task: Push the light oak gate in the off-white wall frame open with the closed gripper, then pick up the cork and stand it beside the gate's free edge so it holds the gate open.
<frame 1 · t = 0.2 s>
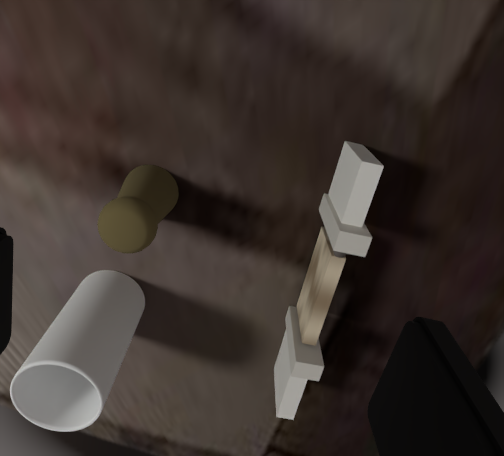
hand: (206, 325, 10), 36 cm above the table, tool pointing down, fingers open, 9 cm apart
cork: (151, 190, 47), on the table
wall frame: (313, 269, 51), on the table
gate: (323, 281, 47), point 4 cm above the table, hinge at 0.0°
cup: (112, 298, 53), on the table
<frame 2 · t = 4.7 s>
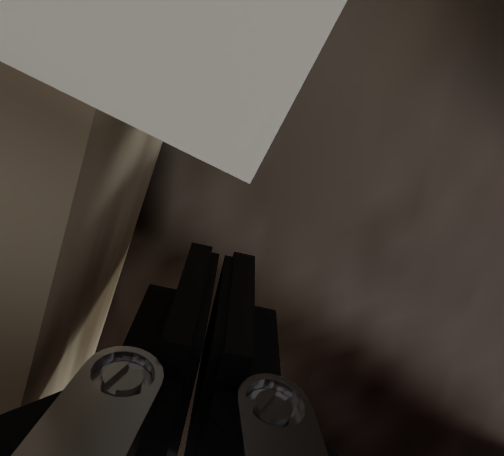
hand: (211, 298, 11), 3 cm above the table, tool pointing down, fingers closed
wall frame: (134, 218, 14), on the table
gate: (41, 298, 10), point 4 cm above the table, hinge at 5.3°, touching gripper
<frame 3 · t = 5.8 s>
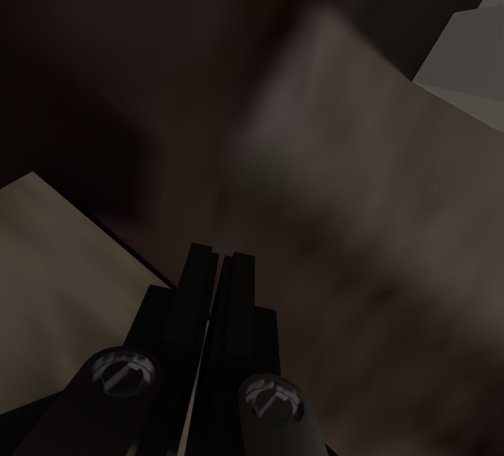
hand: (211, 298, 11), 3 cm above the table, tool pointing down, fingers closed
wall frame: (354, 255, 15), on the table
gate: (128, 387, 12), point 4 cm above the table, hinge at 70.4°, touching gripper
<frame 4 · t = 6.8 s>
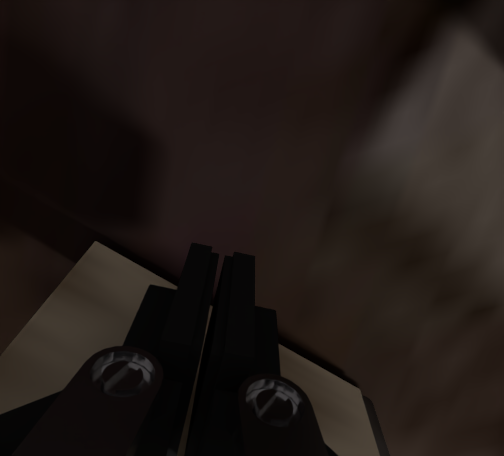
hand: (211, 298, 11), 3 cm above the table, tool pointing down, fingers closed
gate: (226, 431, 12), point 4 cm above the table, hinge at 84.4°, touching gripper
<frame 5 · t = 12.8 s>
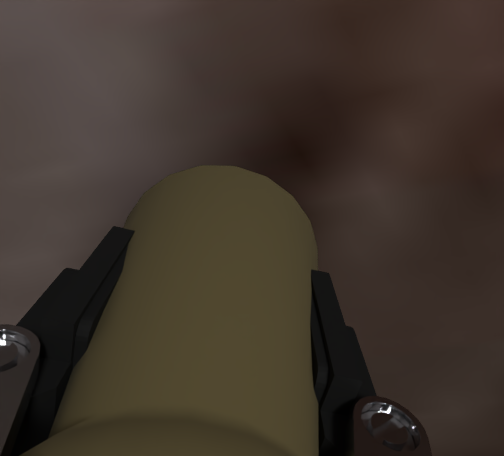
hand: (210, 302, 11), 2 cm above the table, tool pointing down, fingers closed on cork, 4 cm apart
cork: (219, 257, 13), on the table, touching gripper
when the fingers open (4 cm above the table, at t = 19.9 s): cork drops 1 cm, on the table.
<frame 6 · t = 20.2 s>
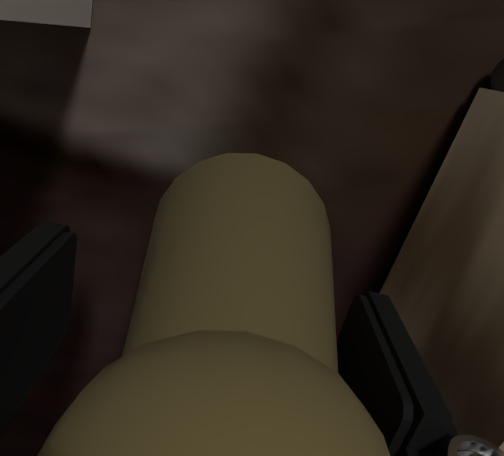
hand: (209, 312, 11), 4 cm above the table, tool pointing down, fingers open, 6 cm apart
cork: (241, 237, 15), on the table
wall frame: (293, 20, 12), on the table
gate: (492, 306, 11), point 4 cm above the table, hinge at 86.8°, touching gripper
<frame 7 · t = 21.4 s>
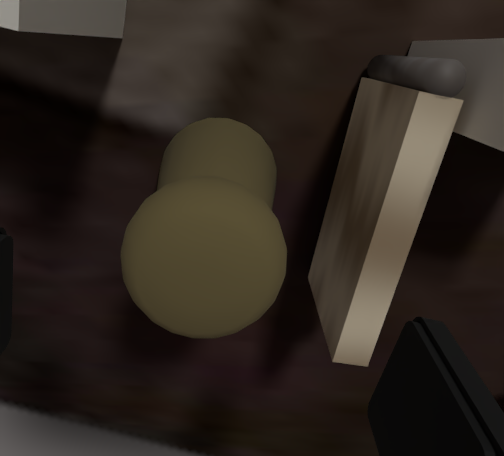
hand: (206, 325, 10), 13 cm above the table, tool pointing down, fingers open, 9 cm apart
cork: (218, 175, 22), on the table
wall frame: (247, 34, 20), on the table
gate: (376, 203, 19), point 4 cm above the table, hinge at 92.9°
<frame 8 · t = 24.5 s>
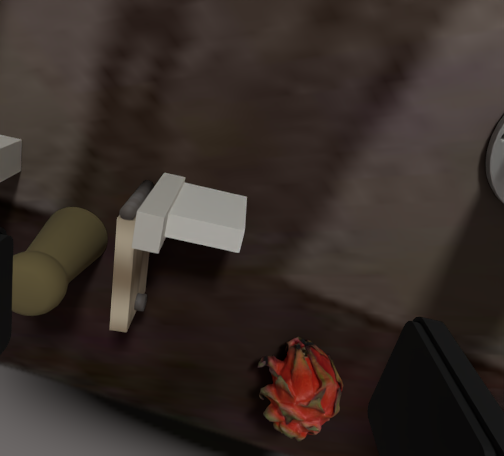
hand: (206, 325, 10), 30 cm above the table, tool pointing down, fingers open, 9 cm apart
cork: (77, 234, 43), on the table
wall frame: (81, 169, 40), on the table
gate: (138, 254, 39), point 4 cm above the table, hinge at 92.9°
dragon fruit: (296, 361, 49), on the table
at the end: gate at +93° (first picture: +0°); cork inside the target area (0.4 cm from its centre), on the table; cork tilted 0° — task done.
